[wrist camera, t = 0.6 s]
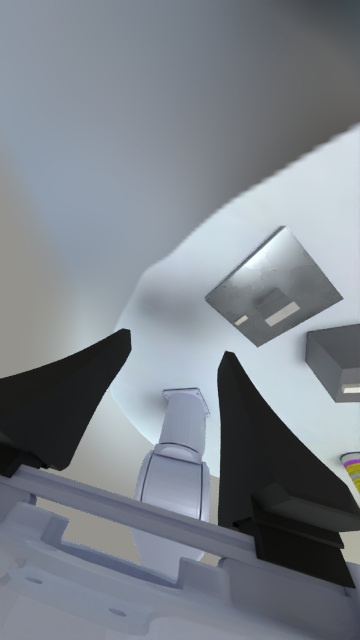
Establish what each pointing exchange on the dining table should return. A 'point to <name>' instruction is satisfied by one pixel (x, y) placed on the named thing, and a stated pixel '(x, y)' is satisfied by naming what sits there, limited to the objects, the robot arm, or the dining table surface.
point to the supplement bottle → (353, 467)
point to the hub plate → (273, 290)
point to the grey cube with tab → (336, 361)
